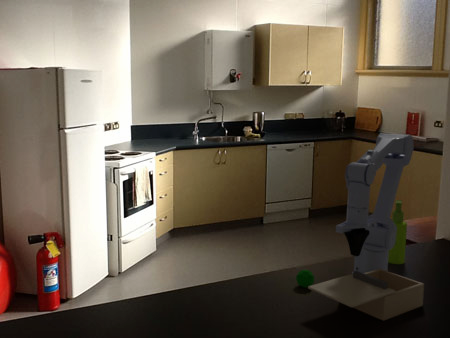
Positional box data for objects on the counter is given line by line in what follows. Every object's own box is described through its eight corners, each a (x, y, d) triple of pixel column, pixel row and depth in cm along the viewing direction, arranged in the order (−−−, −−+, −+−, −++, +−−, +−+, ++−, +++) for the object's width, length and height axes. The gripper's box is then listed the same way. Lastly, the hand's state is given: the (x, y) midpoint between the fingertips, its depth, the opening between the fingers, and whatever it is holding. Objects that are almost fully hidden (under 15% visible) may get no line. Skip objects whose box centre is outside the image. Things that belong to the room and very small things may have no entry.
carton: (339, 301, 141) (340, 279, 140) (378, 289, 150) (379, 268, 149) (383, 320, 130) (384, 297, 129) (422, 305, 139) (424, 283, 138)
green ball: (316, 289, 149) (316, 273, 148) (299, 290, 148) (299, 274, 148) (310, 283, 154) (311, 267, 153) (294, 283, 153) (294, 268, 153)
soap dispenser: (404, 258, 177) (408, 199, 174) (404, 265, 171) (408, 204, 168) (386, 256, 179) (389, 198, 176) (385, 262, 173) (388, 202, 170)
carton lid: (307, 288, 133) (308, 280, 133) (351, 275, 142) (351, 268, 142) (351, 307, 122) (352, 298, 121) (395, 292, 131) (395, 284, 131)
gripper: (351, 212, 137) (348, 263, 139) (387, 206, 146) (383, 254, 148) (331, 207, 143) (328, 256, 145) (366, 202, 151) (363, 248, 153)
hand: (355, 255), depth 147 cm, fingers closed
